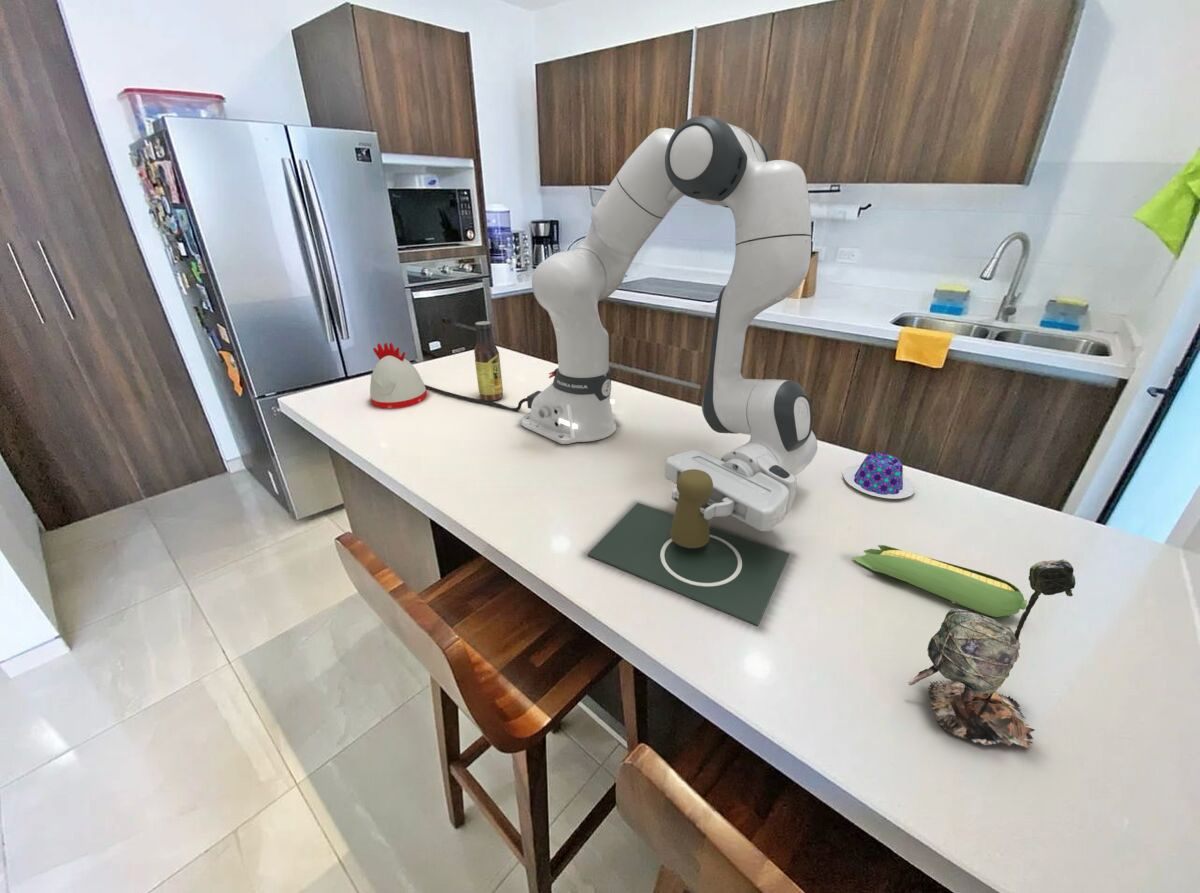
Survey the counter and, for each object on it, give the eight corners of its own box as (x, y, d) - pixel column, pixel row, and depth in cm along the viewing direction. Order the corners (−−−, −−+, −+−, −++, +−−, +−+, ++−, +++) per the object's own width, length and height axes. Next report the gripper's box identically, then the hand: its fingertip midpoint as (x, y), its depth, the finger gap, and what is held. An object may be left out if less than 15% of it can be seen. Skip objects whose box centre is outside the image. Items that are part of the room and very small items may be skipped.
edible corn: (1017, 633, 62) (1032, 606, 60) (846, 569, 72) (853, 544, 70) (1017, 607, 66) (1030, 581, 63) (854, 550, 76) (861, 526, 74)
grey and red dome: (388, 387, 140) (377, 335, 133) (435, 389, 138) (425, 336, 131) (361, 407, 128) (346, 350, 121) (411, 409, 126) (400, 352, 119)
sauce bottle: (501, 402, 130) (492, 326, 120) (477, 402, 130) (467, 326, 120) (505, 392, 135) (497, 319, 126) (482, 392, 136) (473, 319, 126)
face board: (587, 555, 76) (587, 553, 75) (637, 504, 88) (637, 502, 87) (757, 625, 63) (758, 623, 63) (788, 555, 75) (789, 552, 75)
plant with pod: (906, 659, 59) (961, 522, 49) (1026, 707, 53) (1114, 562, 44) (900, 714, 53) (962, 569, 43) (1035, 774, 47) (1139, 623, 38)
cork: (709, 550, 73) (717, 487, 68) (668, 545, 74) (672, 483, 69) (709, 525, 78) (717, 465, 73) (671, 521, 80) (675, 462, 74)
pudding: (881, 508, 86) (889, 482, 83) (827, 475, 95) (833, 451, 93) (929, 492, 90) (938, 467, 87) (873, 462, 100) (879, 439, 97)
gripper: (698, 434, 86) (640, 460, 79) (806, 482, 72) (749, 519, 65) (695, 465, 89) (639, 493, 82) (798, 517, 75) (743, 557, 68)
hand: (688, 505), depth 73 cm, fingers closed on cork, 4 cm apart
